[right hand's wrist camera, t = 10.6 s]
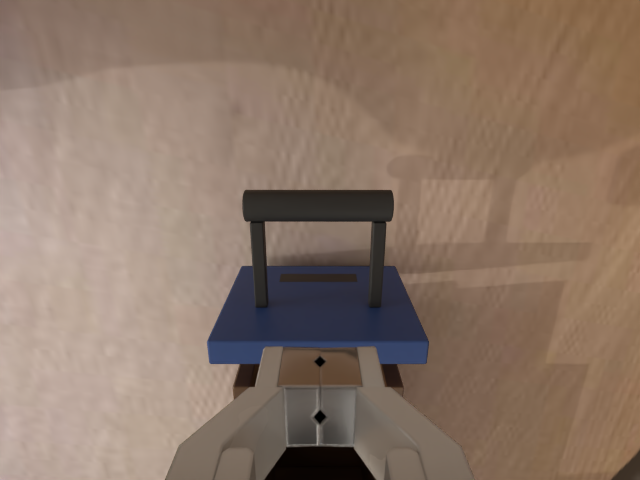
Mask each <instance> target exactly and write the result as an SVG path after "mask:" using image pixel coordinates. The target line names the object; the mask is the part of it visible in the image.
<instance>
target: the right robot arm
mask: <svg viewBox="0 0 640 480" xmlns="http://www.w3.org/2000/svg"><path fill="white" fill-rule="evenodd" d="M307 446H332V447H354V449H355V451H356V452H357V454H358V455H359V456H360V458H361V459H362V461H363V462H364V463H365V465H366V466H367V468H368V469H369V470H370V472H371V473H372V475H373V476H374V477H375V479H376V480H475V478H474V476H473V474H472V471H471V469H470V466H469V464H468V461H467V459H466V456H465V454H464V451H463V449H462V446H460V445H459V444H458V443H457V442H456V441H454V440H453V439H452V438H451V437H450V436H448V435H447V434H446V433H445V432H444V431H443V430H441V429H440V428H439V427H438V426H437V425H435V424H434V423H433V422H432V421H431V420H429V419H428V418H427V417H426V416H425V415H423V414H422V413H421V412H420V411H419V410H417V409H416V408H415V407H414V406H413V405H411V404H410V403H409V402H408V401H407V400H406V399H404V398H403V397H402V396H401V395H400V394H398V393H397V392H396V391H395V390H394V389H392V388H391V387H385V384H384V380H383V375H382V371H381V367H380V362H379V358H378V354H377V349H376V347H375V346H365V347H336V348H320V347H285V346H284V347H282V346H265V348H264V349H263V353H262V358H261V362H260V366H259V371H258V375H257V380H256V384H255V387H249V388H248V389H246V390H245V391H244V392H243V393H242V394H240V395H239V396H238V397H237V398H236V399H234V400H233V401H232V402H231V403H230V404H228V405H227V406H226V407H225V408H224V409H222V410H221V411H220V412H219V413H218V414H216V415H215V416H214V417H213V418H212V419H210V420H209V421H208V422H207V423H206V424H204V425H203V426H202V427H201V428H200V429H198V430H197V431H196V432H195V433H194V434H192V435H191V436H190V437H189V438H188V439H186V440H185V441H184V442H183V443H182V444H180V445H179V447H178V449H177V452H176V454H175V457H174V459H173V461H172V464H171V466H170V469H169V471H168V474H167V476H166V478H165V480H264V479H265V478H266V476H267V475H268V473H269V472H270V471H271V469H272V468H273V466H274V465H275V464H276V462H277V461H278V460H279V458H280V457H281V455H282V454H283V453H284V451H285V450H286V447H307Z"/></svg>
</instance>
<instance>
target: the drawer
mask: <svg viewBox="0 0 640 480" xmlns="http://www.w3.org/2000/svg"><path fill="white" fill-rule="evenodd" d="M393 211H394V198H393V193H392V191H391V190H245V191H244V194H243V216H244V219H245V221H251V222H250V232H251V248H252V264H253V266H242V267H241V269H240V271H239V274H238V276H237V278H236V280H235V282H234V284H233V287H232V289H231V291H230V293H229V295H228V297H227V300H226V302H225V304H224V306H223V308H222V310H221V313H220V315H219V317H218V319H217V321H216V323H215V326H214V328H213V330H212V332H211V334H210V336H209V339H208V341H207V346H208V355H209V362H210V364H240V365H239V368H238V372H237V375H236V378H235V382H234V385H233V396H234V399H236V398H237V397H238V396H239V395H240V394H242V393H243V392H244V391H245V390H246V389H248V388H249V387H255V384H256V380H257V375H258V371H259V366H260V362H261V358H262V353H263V349H264V348H265V346H282V347H284V346H285V347H320V348H336V347H365V346H375V347H376V349H377V354H378V358H379V362H380V367H381V371H382V375H383V380H384V384H385V387H391V388H392V389H394V390H395V391H396V392H397V393H398V394H400V395H401V396H402V397H403V389H404V387H403V384H402V380H401V377H400V373H399V370H398V366H397V364H426V363H427V355H428V346H429V341H428V339H427V336H426V334H425V332H424V330H423V327H422V325H421V323H420V321H419V318H418V316H417V314H416V312H415V310H414V307H413V305H412V303H411V301H410V298H409V296H408V294H407V292H406V289H405V287H404V285H403V283H402V281H401V278H400V276H399V274H398V272H397V269H396V267H395V266H384V254H385V238H386V222H390V221H391V220H392V217H393ZM265 221H326V222H372V229H371V250H370V266H267V260H266V240H265ZM264 480H376V479H375V477H374V476H373V475H372V473H371V472H370V470H369V469H368V468H367V466H366V465H365V463H364V462H363V461H362V459H361V458H360V456H359V455H358V454H357V452H356V451H355V449H354V447H332V446H307V447H286V450H285V451H284V453H283V454H282V455H281V457H280V458H279V460H278V461H277V462H276V464H275V465H274V466H273V468H272V469H271V471H270V472H269V473H268V475H267V476H266V478H265V479H264Z"/></svg>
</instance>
